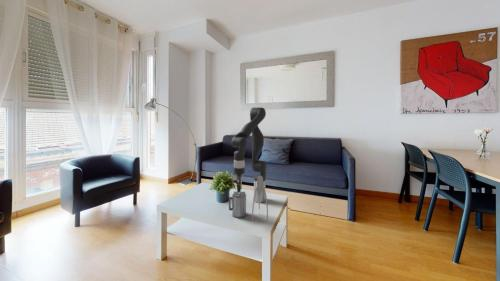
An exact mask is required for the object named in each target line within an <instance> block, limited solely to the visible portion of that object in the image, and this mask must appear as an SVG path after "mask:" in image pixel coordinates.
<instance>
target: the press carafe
mask: <svg viewBox="0 0 500 281" xmlns="http://www.w3.org/2000/svg"><path fill="white" fill-rule="evenodd" d="M228 210H229V211H231V212H232V217H233V218H236V219H243V218H245V217H246V216H247V194H246V191H240V194H239V192H237V191H233V193H232V195H231V196H229V197H228Z"/></svg>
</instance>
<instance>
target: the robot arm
mask: <svg viewBox="0 0 500 281" xmlns="http://www.w3.org/2000/svg"><path fill="white" fill-rule="evenodd" d="M266 115H267V112H266V109H265V108H264V107H251V108H250V110H249V119H250V121H249V122H247V123H246V124H244V126H243V127H242V128H241V130H240V131H239V132H238V133H236V134H235V135H234V136H233V137H232V139H231V143H230V144H231V146H232V147H234V148H238V150H235V151H234V152H233V174H235V175H236V176H235V182H236V190H237V191H236V192H242V189H241V184H242V183H243V182H242V181H243V175H244V174H245V173H246V172H245V170H246V169H245V166H246V164H245V163H246V162H245V153H246V150H247V146H248V139H249V137H250V136H251V150H252V152H251V153H252V154H251V155H252V156H251V168H252V172H255V173H259V174H258V175H254V176H253V194H254V193H255V189H256V188H257V178H258V176H262V177H263V188H265V189H266V178H267V177H266V176H267V162H266V161H265V160H259V159H258V158H259V154H260V152H261V150H262V149H263V147H264V143H265V142H264V138H265V137H264V134H263V133H262V131H261V129H260V128H259V127H260V126H259V124H260V123H262V122H263V120H264V119H265V118H266ZM238 184H239V185H238ZM263 188H262V189H263ZM257 189H258V188H257ZM254 203H258V204H259V192H258V191H257V192H256V196H255V201H254ZM261 203H262V204H263V203H266V198H265V194H264V191H262V192H261V195H260V204H261Z"/></svg>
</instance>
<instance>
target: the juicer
mask: <svg viewBox="0 0 500 281" xmlns="http://www.w3.org/2000/svg"><path fill="white" fill-rule="evenodd" d="M257 188H258V189H257ZM257 188H256V189H255V193H254V192H253V198H252V200H253V201H252V210H251V214H252V215H251V216H252V217H251V219H252V220H251V221H252V222H253V221H254V208H255V196H256V192H257V191H258V192H259V203H258V209H260V207H261V206H260V205H261V203H260V195H261V192H262V191H264V194H265V204H266V205H265V206H266V220H267V221H269V206H268V197H267V193H266V187H265V188H263V177H262V176H258V178H257ZM262 188H263V189H262Z"/></svg>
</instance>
